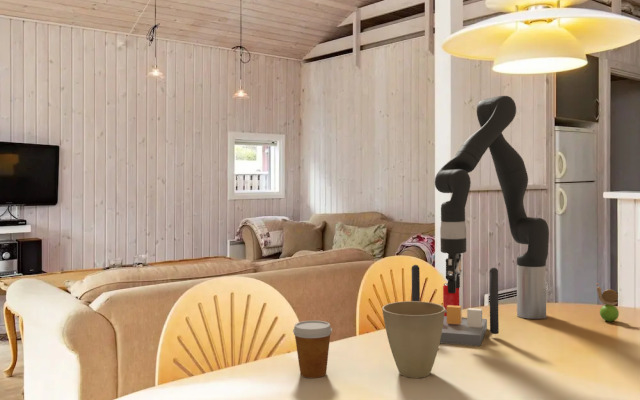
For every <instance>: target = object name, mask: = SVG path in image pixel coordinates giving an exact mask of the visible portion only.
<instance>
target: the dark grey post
mask: <svg viewBox="0 0 640 400" xmlns="http://www.w3.org/2000/svg"><path fill="white" fill-rule="evenodd" d="M488 271H489V274H488V275H489V333H490V334H491V335H499V332H500V329H499V270H498V268H496V267H491V268H490V269H489V270H488Z"/></svg>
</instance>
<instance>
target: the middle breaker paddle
mask: <svg viewBox="0 0 640 400" xmlns="http://www.w3.org/2000/svg"><path fill="white" fill-rule="evenodd" d="M462 313H463V312H462V305H459V306H453V305H448V306H447V324H461V323H462Z"/></svg>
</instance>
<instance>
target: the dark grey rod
mask: <svg viewBox="0 0 640 400" xmlns="http://www.w3.org/2000/svg"><path fill="white" fill-rule="evenodd" d="M420 272H421V271H420V266H419V265H418V264H413V265H412V266H411V301H420V302H421V294H420V293H421V292H420V291H421V289H420V288H421V284H420V282H421V281H420V280H421V277H420Z"/></svg>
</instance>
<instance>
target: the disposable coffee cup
mask: <svg viewBox="0 0 640 400" xmlns="http://www.w3.org/2000/svg"><path fill="white" fill-rule="evenodd" d="M332 331H333V328H332V327H331V324H330V323H329V322H328V321H324V320H303V321H299V322H296V323H295V324H294V328H293V329H292V333H293V335H294V339H295V345H296V346H295V347H296V351H297V352H296V353H297V359H298V367H299V373H300V376H301V377H304V378H308V379H316V378H323V377H324V376H326V375H327V368H328V360H329V359H328V358H329V351H330V350H329V349H330V340H331V339H330V338H331V335H332Z"/></svg>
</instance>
